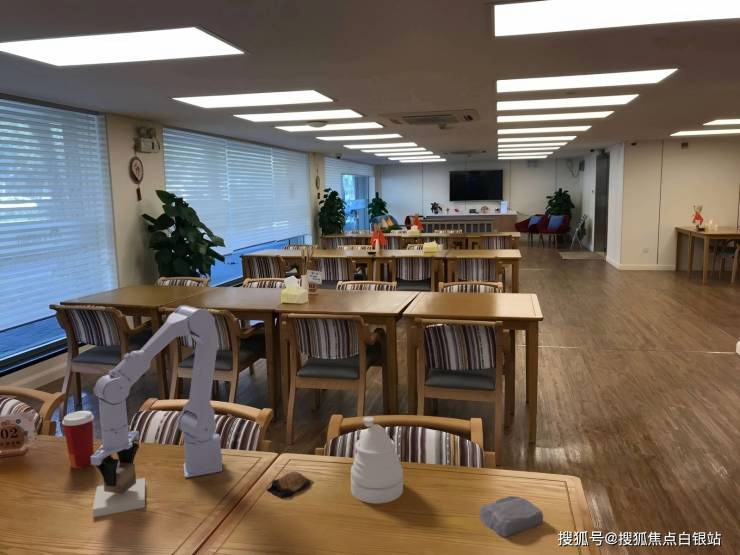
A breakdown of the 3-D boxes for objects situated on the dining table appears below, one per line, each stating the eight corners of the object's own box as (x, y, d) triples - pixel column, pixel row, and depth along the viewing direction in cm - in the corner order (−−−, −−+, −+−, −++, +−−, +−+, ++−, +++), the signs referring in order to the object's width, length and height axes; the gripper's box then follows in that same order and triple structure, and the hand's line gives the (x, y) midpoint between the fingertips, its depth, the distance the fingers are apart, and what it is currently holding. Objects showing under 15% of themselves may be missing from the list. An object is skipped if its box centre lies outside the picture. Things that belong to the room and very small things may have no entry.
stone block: (475, 526, 125) (505, 540, 116) (473, 504, 125) (503, 517, 116) (515, 513, 131) (547, 526, 122) (513, 492, 131) (545, 504, 122)
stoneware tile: (145, 485, 141) (145, 477, 141) (144, 507, 131) (144, 499, 131) (97, 494, 137) (96, 486, 137) (93, 517, 127) (92, 509, 127)
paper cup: (103, 457, 157) (99, 410, 155) (87, 470, 149) (82, 421, 147) (77, 456, 158) (72, 409, 156) (59, 469, 150) (54, 420, 148)
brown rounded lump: (293, 475, 146) (293, 462, 146) (317, 485, 141) (316, 471, 141) (262, 491, 138) (262, 478, 138) (285, 503, 133) (285, 488, 133)
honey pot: (342, 497, 134) (340, 426, 132) (363, 473, 146) (361, 407, 143) (392, 507, 129) (391, 434, 127) (409, 481, 141) (409, 413, 139)
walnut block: (136, 483, 135) (134, 463, 135) (122, 493, 131) (121, 473, 130) (118, 480, 137) (116, 461, 136) (104, 491, 132) (102, 471, 131)
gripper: (107, 440, 124) (112, 497, 126) (148, 415, 138) (152, 467, 139) (80, 437, 125) (86, 493, 127) (123, 413, 139) (127, 464, 141)
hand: (118, 479), depth 133 cm, fingers closed on walnut block, 5 cm apart
